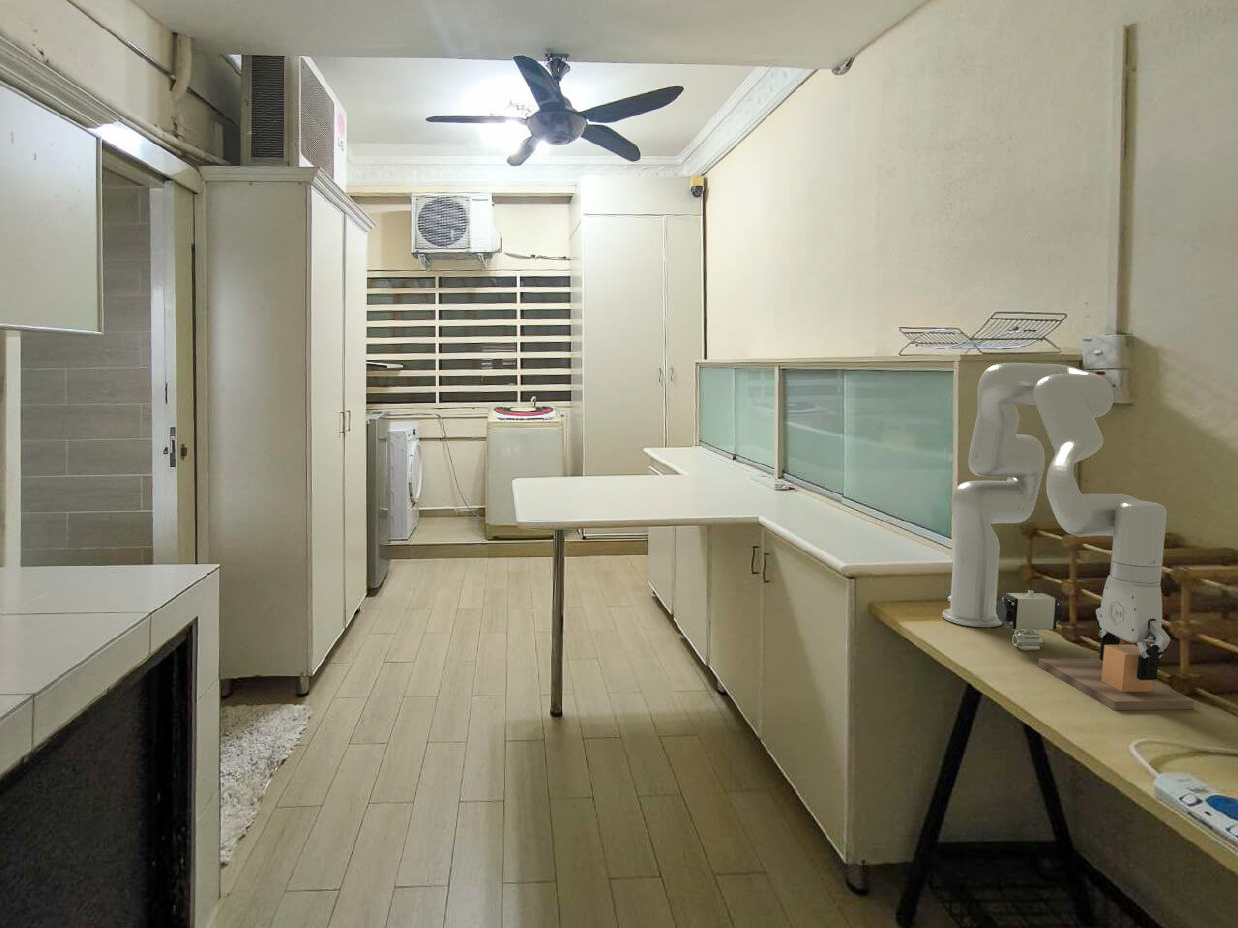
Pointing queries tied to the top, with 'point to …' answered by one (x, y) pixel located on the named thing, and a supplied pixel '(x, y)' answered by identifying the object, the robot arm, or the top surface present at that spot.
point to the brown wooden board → (1088, 680)
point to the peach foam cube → (1123, 668)
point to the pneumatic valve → (1029, 616)
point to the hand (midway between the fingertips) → (1126, 669)
